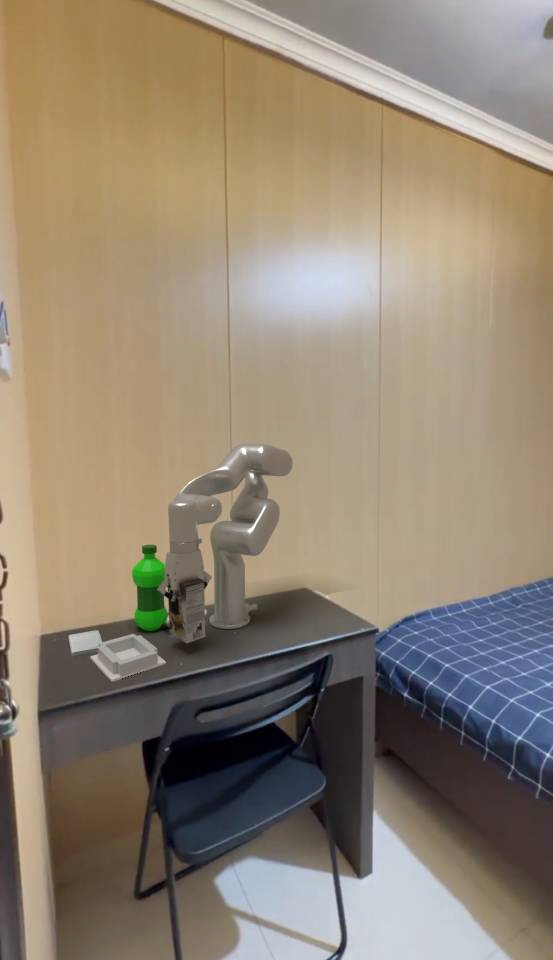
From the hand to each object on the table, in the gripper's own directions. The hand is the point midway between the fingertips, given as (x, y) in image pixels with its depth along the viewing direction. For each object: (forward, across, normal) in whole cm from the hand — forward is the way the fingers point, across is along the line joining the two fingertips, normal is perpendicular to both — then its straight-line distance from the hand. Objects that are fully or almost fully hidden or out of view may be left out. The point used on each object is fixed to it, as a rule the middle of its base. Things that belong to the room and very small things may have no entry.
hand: (186, 609), depth 132 cm
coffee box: (+7, 0, 0) cm, 7 cm away
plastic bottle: (+11, +2, -19) cm, 22 cm away
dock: (+10, +16, -3) cm, 19 cm away
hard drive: (+11, +21, -20) cm, 31 cm away
